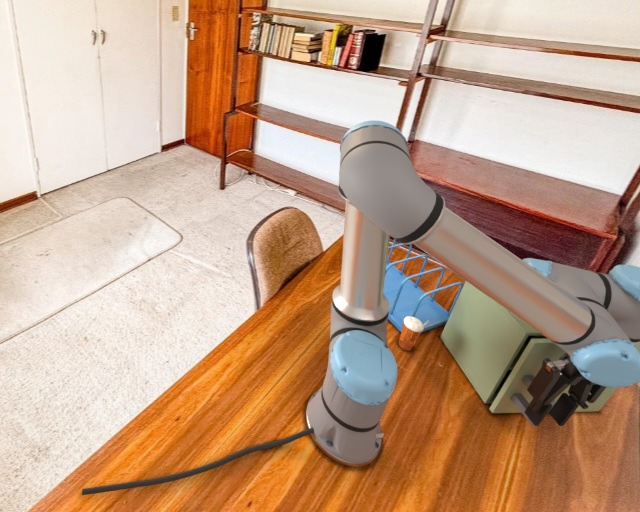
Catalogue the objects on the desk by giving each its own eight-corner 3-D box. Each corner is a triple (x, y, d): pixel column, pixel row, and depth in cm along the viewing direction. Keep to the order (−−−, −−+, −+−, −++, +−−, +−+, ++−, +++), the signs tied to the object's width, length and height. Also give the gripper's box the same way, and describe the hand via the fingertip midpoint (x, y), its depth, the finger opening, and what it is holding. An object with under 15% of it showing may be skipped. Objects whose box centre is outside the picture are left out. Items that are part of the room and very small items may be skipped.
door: (625, 439, 85) (689, 368, 75) (512, 441, 84) (561, 370, 74) (594, 407, 92) (649, 337, 81) (488, 408, 90) (531, 338, 80)
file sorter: (344, 275, 128) (354, 237, 121) (385, 264, 134) (397, 227, 127) (406, 338, 107) (423, 296, 100) (452, 322, 112) (471, 281, 106)
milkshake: (420, 355, 102) (432, 328, 98) (398, 351, 103) (409, 324, 99) (414, 340, 106) (425, 313, 102) (393, 336, 107) (403, 310, 103)
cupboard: (593, 406, 92) (648, 336, 82) (484, 403, 92) (526, 332, 81) (532, 339, 108) (571, 274, 98) (439, 337, 108) (470, 271, 98)
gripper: (572, 359, 68) (516, 438, 78) (669, 360, 69) (601, 438, 79) (536, 323, 75) (489, 400, 85) (625, 325, 76) (567, 401, 86)
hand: (543, 418), depth 82 cm, fingers open, 5 cm apart
